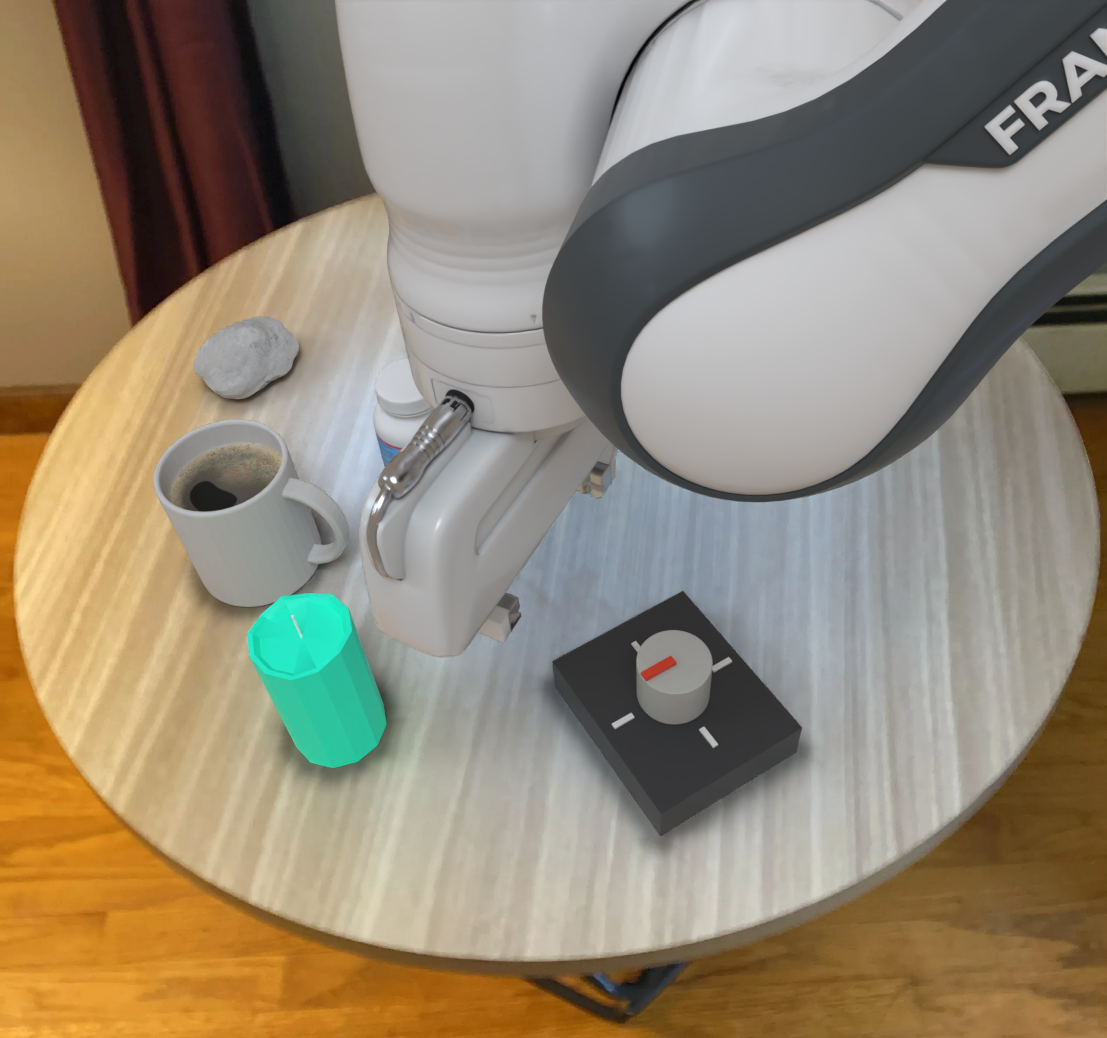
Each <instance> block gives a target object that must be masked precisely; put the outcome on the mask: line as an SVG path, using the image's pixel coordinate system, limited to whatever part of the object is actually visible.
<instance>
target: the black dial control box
mask: <svg viewBox="0 0 1107 1038" xmlns="http://www.w3.org/2000/svg"><path fill="white" fill-rule="evenodd" d="M668 630H679V631H684V632H687V633H690V634H692V635H694V636H696V637H698V638H699V639H700V640H702V641H703V642H704V643H705V645H706V646H707V647H708V649H709V651H710V653H711V656H712V661H713V666H712V677H711V687H710V698H709V702H708V705H707V707H706V708H705V710H704V711H703V712H702V714H701V715H699V716H698V717H697V718H695V719H694V720H692V721H690V722H687V723H683V724H666V723H662V722H659V721H657V720H655V719H653V718H652V717H650V716H649V715H648V714H647V713H645V711H644V710H643V709H642V707H641V706H640V704H639V702H638V699H637V679H636V659H637V654H638V651H639V649H640V647H641V645H642V644H643V643H644V642H645V641H646V640H647V639H648V638H649V637H651V636H652V635H654V634H656V633H659V632H662V631H668ZM551 664H552V674H553V681H554V687H555V689H556V690H557V691H558V693H559V694H560V696H561V697H562V698H563V700H564V701H565V703H566V704H567V706H568V707H569V708H570V710H571V711H572V713H573V714H574V716H575V717H576V718H577V720H578V721H579V723H580V724H581V726H582V727H583V728H584V730H585V731H586V733H587V734H588V736H589V737H590V738H591V740H592V741H593V743H594V744H595V745H596V747H597V748H598V750H599V751H600V753H601V754H602V755H603V757H604V759H606V761H607V762H608V764H609V766H610V767H611V768H612V769H613V771H614V772H615V774H616V775H617V777H618V778H619V779H620V781H621V782H622V784H623V785H624V786H625V788H626V789H627V791H628V793H630V795H631V796H632V798H633V799H634V801H635V802H636V804H637V805H638V807H639V808H640V810H641V811H642V812H643V813H644V815H645V816H646V818H647V820H648V821H649V822H650V824H651V825H652V826H653V828H654V829H655V830H656V832H657V833H658V835H659V836H663V835H665V834H667V833H669V832H670V831H671V830H673V829H675V828H676V827H678V826H679V825H681V824H682V823H684V822H686V821H687V820H689V819H691V818H693V817H694V816H695V815H697V814H699V813H700V812H702V811H703V810H705V809H706V808H708V807H710V806H712V805H713V804H715V803H717V802H718V801H720V800H722V799H723V798H724V797H727V796H728V795H730V794H731V793H733V792H735V791H736V790H738V789H739V788H741V787H742V786H744V785H746V784H747V783H749V782H750V781H752V780H754V779H756V778H757V777H759V776H760V775H762V774H763V773H765V772H767V771H768V770H770V769H771V768H773V767H775V766H776V765H778V764H780V763H781V762H782V761H784V760H787V759H788V758H789V757H791V756H792V755H794V754H795V753H797V752H798V748H799V744H800V739H801V734H802V730H803V726H802V725H801V724H800V723H799V722H798V720H797V719H795V717H794V716H793V715H792V714H791V713H790V711H788V709H787V708H786V707H785V706H784V704H782V702H781V701H780V700H779V699H778V698H777V697H776V696H775V694H774V693H773V692H772V691H771V689H769V687H768V686H767V685H766V684H765V683H764V682H763V681H762V679H761V678H760V677H759V676H758V674H757V673H756V672H755V671H754V670H753V669H752V668H751V666H750V665H748V663H747V662H746V660H744V659H743V658H742V657H741V655H740V654H739V653H738V652H737V651H736V649H734V647H733V646H732V645H731V644H730V643H729V642H728V641H727V639H726V638H725V637H724V636H723V635H722V634H721V633H720V631H719V630H718V629H717V628H716V627H715V625H714V624H713V623H712V622H711V621H710V620H709V619H708V617H707V616H706V615H705V614H704V613H703V612H702V610H700V608H699V607H698V606H697V605H696V603H694V601H693V600H692V599H691V598H690V597H689V596H688V595H687V593H686V592H685V591H684V590H680V591H679V592H677V593H675V594H674V595H672V596H670V597H668V598H666V599H664V600H663V601H661V602H659V603H657V604H655V605H653V606H651V607H649V608H648V609H646V610H644V611H642V612H640V613H638V614H637V615H635V616H633V617H631V618H629V619H627V620H626V621H624V622H622V623H620V624H619V625H616V626H615V627H612V628H611V629H609V630H607V631H605V632H603V633H601V634H600V635H598V636H596V637H594V638H592V639H591V640H588V641H587V642H585V643H583V644H581V645H580V646H577V647H576V648H573V649H572V650H570V651H568V652H567V653H565V654H563V655H561V656H559V657H557V658H555V659H553V660H552V661H551Z"/></svg>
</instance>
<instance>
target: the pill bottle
mask: <svg viewBox="0 0 1107 1038" xmlns="http://www.w3.org/2000/svg"><path fill="white" fill-rule="evenodd" d="M374 392H375V396H376V401H377V402H376V404H375V406H374V409H373V414H372V423H373V429H374V432H375V436H376V440H377V445H378V447H379V451H380V455H381V459H382V462H383V466H384V468H385V466H386V465H387V464H388V463H389V461H390V460H391V459H392V458H393V457H394V456H395V455H396V454H398V453H399V452H400V451H401V449H402V448H403V447H404V446H405V445H406V444H407V442H408V441H409V440H410V439H411V438H412V437H413V436H414V434H415V433H416V432H417V431H418V430H419V428H420V427H421V425H422V424H423V422H424V421H425V420H426V419H427V418H428V417H429V415H430V414H431V413H432V412H433V411H434V410H435V408H433V407H432V406H431V405H430V404H429V403H428V402H427V401H426V400H425V399H424V398H423V396H422V395H421V394H420V392H419V391H418V389H417V387H416V385H415V383H414V380H413V377H412V373H411V368H410V364H409V360H408V357H406V358H402V359H401V358H400V359H398V360H395V361H393V362H390V363H388V364H387V365H385V366H384V367H383V368H381V370H380V371H378V373H377V375H376V377H375V380H374Z"/></svg>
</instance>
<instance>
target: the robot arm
mask: <svg viewBox="0 0 1107 1038" xmlns="http://www.w3.org/2000/svg"><path fill="white" fill-rule="evenodd" d="M334 9H335V17H336V25H337V32H338V33H337V34H338V40H339V45H340V46H339V48H340V54H341V59H342V65H343V70H344V71H343V72H344V77H345V83H346V84H345V85H346V89H347V95H348V99H349V105H350V109H351V115H352V119H353V125H354V131H355V135H356V138H357V144H358V147H359V152H360V156H361V160H362V164H363V167H364V171H365V172H366V175H367V178H368V180H369V181H370V184H371V186H372V187H373V189H374V190H375V192H376V194H377V195H378V197H379V199H380V200H381V202H382V204H383V207H384V210H385V212H386V216H387V221H388V222H387V223H388V235H387V236H388V237H387V242H386V266H387V272H388V275H389V276H388V277H389V281H390V282H389V283H390V286H391V290H392V295H393V299H394V303H395V308H396V312H397V317H398V321H399V325H400V330H401V333H402V338H403V342H404V346H405V351H406V355H407V358H408V360H409V364H410V368H411V373H412V377H413V380H414V383H415V385H416V387H417V389H418V391H419V392H420V394H421V395H422V396H423V398H424V399H425V400H426V401H427V402H428V403H429V404H430V405H431V406H432V407H433V408H435V410H434V411H433V412H432V413H431V414H430V415H429V417H428V418H427V419H426V420H425V421H424V422H423V424H422V425H421V427H420V428H419V430H418V431H417V432H416V433H415V434H414V436H413V437H412V438H411V439H410V440H409V441H408V442H407V444H406V445H405V446H404V447H403V448H402V449H401V451H400V452H399V453H398V454H396V455H395V456H394V457H393V458H392V459H391V460H390V461H389V463H388V464H387V465H386V466H385V467H384V468H383V469H382V471H381V472H380V474H379V475H378V477H377V478H376V479H375V481H373V483H372V485H371V487H370V489H369V490H368V493H367V495H366V497H365V499H364V501H363V505H362V508H361V512H360V518H359V549H360V558H361V566H362V571H363V577H364V584H365V588H366V593H367V598H368V603H369V607H370V611H371V614H372V617H373V620H374V623H375V625H376V626H377V628H378V629H379V630H380V631H381V632H382V633H383V634H384V635H386V636H387V637H389V638H391V639H393V640H395V641H396V642H398V643H400V644H402V645H404V646H407V647H409V648H411V649H413V650H415V651H418V652H421V653H422V654H425V655H429V656H430V657H435V658H441V659H443V658H456V657H459V656H461V655H462V654H463V653H464V652H465V651H466V650H467V649H468V647H469V646H470V644H471V643H472V642H473V641H474V639H475V637H476V636H477V634H478V633H479V634H480V635H483V636H484V637H488V638H490V639H492V640H493V641H494V640H495V641H496V642H500V643H505V642H506V640H507V639H508V638H509V635H511V633H512V632H513V630H514V628H515V627H516V625H517V624H518V623H519V621H520V620H521V618H522V612H521V611H520V610H521V609H520V608H521V604H520V598H519V597H518V596H516V595H513V594H511V593H508V590H509V589H510V587H511V586H512V584H513V583H514V582H515V580H516V579H517V577H518V576H519V575H520V573H521V571H523V569H524V567H525V566H526V564H527V563H528V561H529V560H530V559H531V558H532V556H533V555H534V553H535V552H536V550H537V548H538V547H539V546H540V544H541V543H542V541H543V540H544V539H545V538H546V536H547V534H548V533H549V531H550V530H551V528H552V527H553V526H554V525H555V523H556V522H557V520H558V519H559V517H560V516H561V514H562V513H563V512H564V510H565V509H566V507H567V506H568V505H569V503H570V501H572V499H573V497H574V496H575V494H576V493H577V492H578V493H579V494H582V495H587V494H589V496H590V497H591V498H593V499H596V500H598V499H602V498H603V496H604V495H605V493H606V492H607V491H608V489H609V488H610V486H611V485H612V484H613V483H614V481H615V479H616V478H617V466H616V465H617V461H616V457H617V455H618V453H619V452H621V453H622V454H623V455H624V456H625V457H626V458H628V459H629V460H631V461H632V462H634V464H637V465H638V466H640V467H641V468H643V469H644V470H646V472H648V473H651V475H653V476H656V477H657V478H660V479H661V480H663V481H665V482H667V483H670V484H671V485H674V486H677V487H679V488H681V489H683V490H686V491H688V492H689V491H690V492H692V493H694V494H698V495H702V496H704V497H709V498H714V499H718V500H724V501H730V502H737V503H739V502H740V503H741V502H742V503H774V502H775V503H776V502H784V501H790V500H791V501H792V500H796V499H802V498H803V499H804V498H808V497H812V496H815V495H816V496H817V495H819V494H823V493H827V492H830V491H833V490H837V489H840V488H843V487H845V486H847V485H850V484H852V483H853V484H854V483H855V482H858V481H860V480H862V479H864V478H866V477H869V476H871V475H873V474H875V473H877V472H879V471H880V470H883V469H884V468H886V467H888V466H890V465H891V464H893V463H895V462H896V461H898V460H899V459H901V458H902V457H904V456H905V455H907V454H909V453H910V452H912V451H913V450H914V449H916V448H918V447H919V446H920V445H921V444H922V443H924V442H925V441H927V440H928V439H929V438H930V437H931V436H933V435H934V434H935V433H936V432H937V431H938V430H939V429H940V428H941V427H943V426H944V424H945V423H946V422H947V421H948V420H950V419H951V418H952V416H953V415H954V414H955V413H956V412H957V411H958V409H959V408H960V407H961V406H962V405H963V404H964V403H965V402H966V400H967V399H968V398H969V397H970V396H971V394H972V393H973V392H974V391H975V390H976V388H978V386H979V385H980V383H981V382H982V381H983V379H984V378H985V377H986V376H987V375H988V374H989V372H990V371H991V370H992V369H993V368H994V367H995V365H996V364H997V363H998V362H999V360H1000V359H1001V358H1002V357H1003V356H1004V355H1005V354H1006V352H1007V351H1008V350H1009V349H1011V347H1012V346H1013V345H1014V344H1015V343H1016V342H1017V341H1018V339H1019V338H1020V337H1021V336H1022V335H1023V334H1024V333H1025V332H1026V331H1028V329H1029V328H1030V327H1031V326H1032V325H1033V324H1034V323H1035V322H1037V320H1039V319H1040V318H1041V317H1042V316H1043V315H1044V314H1045V313H1046V312H1048V310H1050V309H1051V308H1052V307H1053V306H1054V305H1056V303H1058V302H1059V301H1060V300H1062V298H1064V297H1065V296H1066V295H1068V294H1069V293H1070V292H1072V291H1073V289H1075V288H1076V287H1078V286H1079V285H1080V284H1082V282H1084V281H1085V280H1086V279H1088V278H1089V277H1090V276H1092V275H1093V274H1095V272H1097V271H1098V270H1100V269H1101V268H1102V267H1104V266H1105V265H1106V264H1107V0H334Z"/></svg>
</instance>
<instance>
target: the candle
mask: <svg viewBox="0 0 1107 1038" xmlns="http://www.w3.org/2000/svg"><path fill="white" fill-rule="evenodd" d="M349 608H350V607H349ZM349 608H348V606H347V605H345V604H344V603H343V602H342V601H341V600H340V599H339V598H338V597H337V596H335V595H334V594H333V593H314V592H307V593H298V594H291V595H287V596H281V597H280V598H279V599H278V600H277V601H276V602H274V603H271V604H270V606H269V607H267V609H265V610H264V611H263V612H262V613H260V615H259V616H258V618H257V619H256V620H255V622H254V623H253V625H251V627H250V629H249V630H248V631H247V633H246V637H247V649H248V657H249V659H250V662H251V663H252V665H253V667H254V669H255V671H256V673H257V675H258V676H259V679H260V680H261V682H262V684H263V687H264V688H265V690H266V692H267V694H268V696H269V698H270V699H271V701H272V704H273V705H274V708H275V709H276V711H277V713H278V715H279V717H280V719H281V721H282V723H283V725H284V727H285V729H286V730H287V732H288V734H289V736H290V738H291V739H292V742H293V743H294V746H295V748H296V749H297V750H298V751H299V752H300V753H301V754H302V755H303V756H304V757H305V759H307V761H308V762H309V763H310V764H313V765H318V766H322V767H327V768H330V769H336V768H339V767H343V766H347V765H351V764H352V765H353V764H355V763H358V762H360V761H361V760H362V759H364V758H365V757H367V755H369V754H370V753H371V752H372V751H374V749H375V748H376V747H378V745H380V744H379V743H380V742H381V739H382V737H383V734H384V732H385V729H386V727H387V725H388V722H387V717H386V711H385V704H384V702H383V699H382V696H381V694H380V693H381V692H380V690H379V688H378V685H377V682H376V679H375V677H374V673H373V672H372V668H371V666H370V664H369V661H368V660H369V659H368V658H367V655H366V652H365V650H364V647H363V644H362V641H361V638H360V636H359V633H358V630H357V628H356V625H355V622H354V619H353V616H352V614H351V611H350V609H349Z"/></svg>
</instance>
